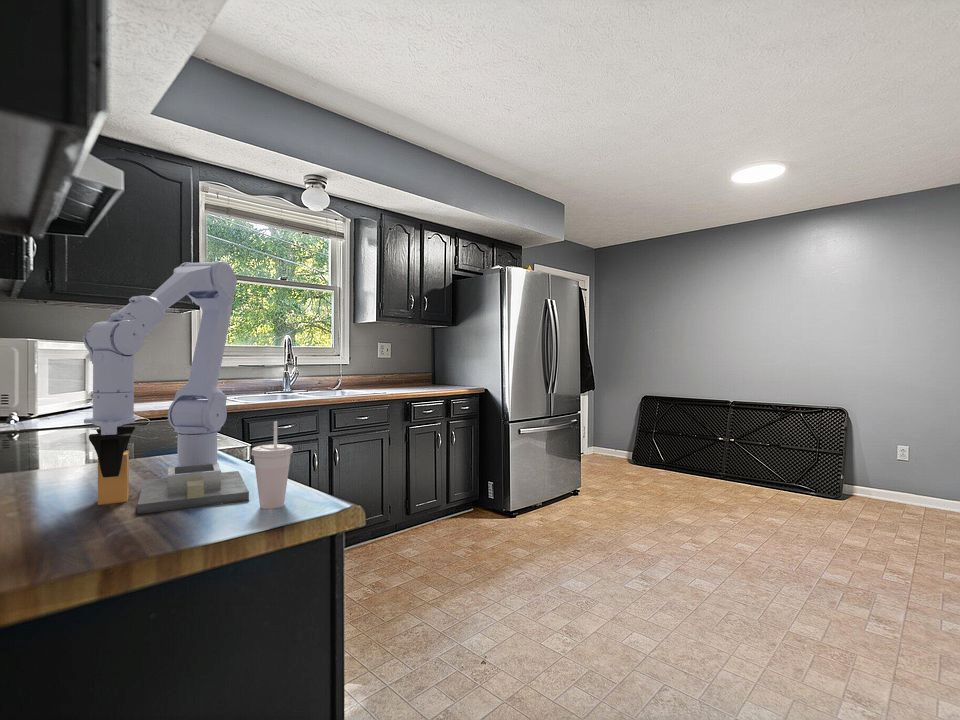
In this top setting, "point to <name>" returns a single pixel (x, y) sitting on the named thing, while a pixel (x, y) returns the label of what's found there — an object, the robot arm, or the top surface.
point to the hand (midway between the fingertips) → (113, 472)
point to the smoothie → (272, 472)
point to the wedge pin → (114, 484)
